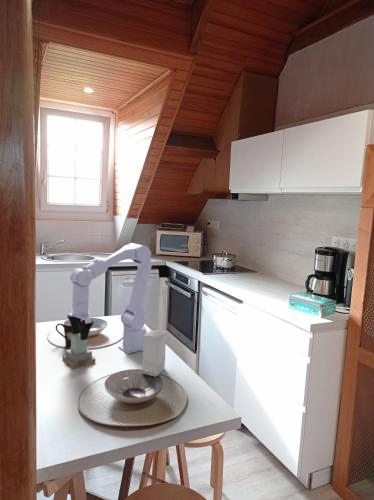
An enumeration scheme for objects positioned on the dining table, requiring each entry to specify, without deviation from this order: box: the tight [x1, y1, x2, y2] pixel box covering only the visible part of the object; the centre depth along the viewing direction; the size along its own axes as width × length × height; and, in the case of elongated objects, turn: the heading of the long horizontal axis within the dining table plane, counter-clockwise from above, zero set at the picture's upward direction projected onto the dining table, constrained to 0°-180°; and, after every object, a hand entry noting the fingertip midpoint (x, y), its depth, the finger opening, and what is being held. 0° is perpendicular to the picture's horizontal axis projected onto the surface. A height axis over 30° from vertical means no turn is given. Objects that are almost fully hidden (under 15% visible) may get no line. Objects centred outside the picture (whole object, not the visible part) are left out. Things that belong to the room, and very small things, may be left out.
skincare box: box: [141, 328, 167, 375], centre depth 133 cm, size 8×6×15 cm
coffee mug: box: [55, 319, 82, 348], centre depth 154 cm, size 12×9×10 cm
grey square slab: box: [64, 348, 93, 363], centre depth 139 cm, size 7×7×2 cm
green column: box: [70, 333, 88, 354], centre depth 138 cm, size 4×4×6 cm
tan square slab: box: [62, 354, 96, 370], centre depth 139 cm, size 9×9×2 cm
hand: (79, 336), depth 138 cm, fingers open, 7 cm apart
